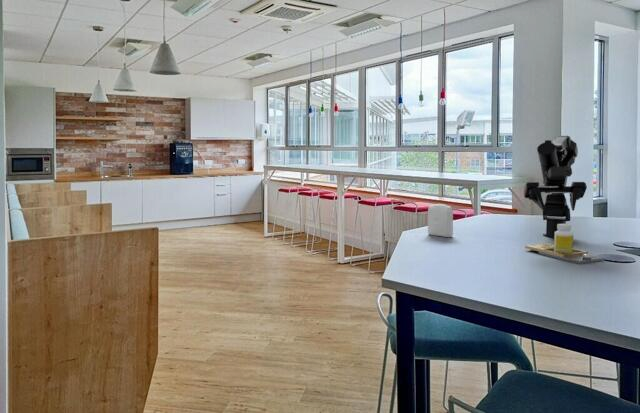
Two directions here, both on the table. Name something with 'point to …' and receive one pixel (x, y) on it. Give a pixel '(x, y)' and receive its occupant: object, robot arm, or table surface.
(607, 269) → the table surface
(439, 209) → the photo printer
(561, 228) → the supplement bottle
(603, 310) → the table surface
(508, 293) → the table surface
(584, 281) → the table surface
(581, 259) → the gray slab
